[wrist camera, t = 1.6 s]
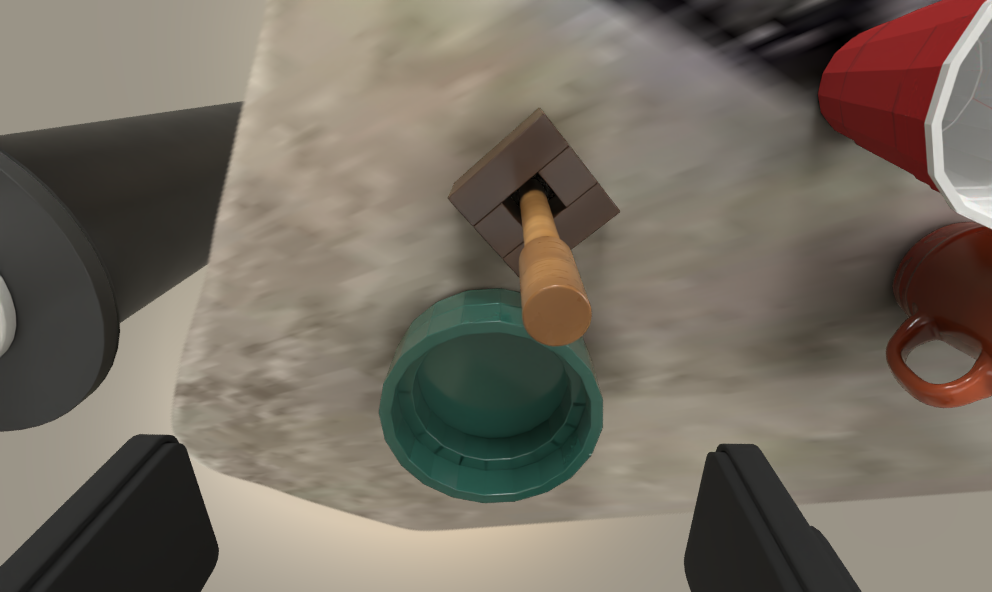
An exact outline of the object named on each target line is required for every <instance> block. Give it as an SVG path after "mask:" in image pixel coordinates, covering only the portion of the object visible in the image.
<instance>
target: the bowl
mask: <svg viewBox="0 0 992 592" xmlns="http://www.w3.org/2000/svg"><path fill="white" fill-rule="evenodd" d="M379 416H380V420H381V425H382V430H383V434H384V439H385V441H386V443H387V444H388V446H389V447H390V449H391V451H392V452H393V454H394V455H395V457H396V458H397V460H398V461H399V463H400V464H401V466H403V467H404V468H405V469H406V470H407V471H409V472H410V473H411V474H412V475H413V476H415V477H416V478H417V479H418V480H419V481H421V482H422V483H423V484H424V485H427V486H429V487H431V488H433V489H435V490H437V491H440V492H442V493H444V494H446V495H448V496H451V497H453V498H459V499H464V500H469V501H475V502H480V503H496V502H515V501H519V500H522V499H526V498H529V497H532V496H536V495H539V494H543V493H545V492H548V491H550V490H552V489H553V488H555V487H556V486H558V485H560V484H561V483H563V482H565V481H566V480H568V479H570V478H571V477H572V476H573V475H574V474H575V473H576V472H577V471H578V470H579V469H580V467H581V466H582V465H583V464H584V463H585V462H586V461H587V460H588V458H589V457H590V456H591V454H592V453H593V451H594V448H595V446H596V443H597V441H598V438H599V436H600V433H601V431H602V428H603V398H602V394H601V391H600V387H599V384H598V381H597V377H596V374H595V370H594V367H593V363H592V360H591V357H590V355H589V352H588V350H587V347H586V345H585V342H584V339H583V337H582V336H581V337H580V338H579V339H578V340H576V341H574V342H573V343H570V344H568V345H564V346H548V345H544V344H541V343H539V342H537V341H536V340H534V339H533V338H532V337H531V336H530V335H529V334H528V333H527V331H526V329H525V327H524V325H523V320H522V306H521V293H520V292H515V291H511V290H506V289H502V288H501V289H500V288H496V289H481V290H468V291H465V292H462V293H459V294H457V295H454V296H452V297H449V298H446V299H444V300H441V301H438V302H437V303H435V304H434V305H432V306H431V307H430V308H429V309H427V310H426V311H425V312H424V313H422V314H421V315H420V316H419V317H418V318H416V319H415V320H414V321H413V322H412V323H411V325H410V327H409V328H408V330H407V332H406V333H405V335H404V336H403V338H402V340H401V341H400V343H399V345H398V347H397V350H396V352H395V355H394V358H393V360H392V363H391V365H390V368H389V371H388V373H387V376H386V379H385V381H384V384H383V389H382V395H381V401H380V407H379Z"/></svg>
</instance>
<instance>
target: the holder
mask: <svg viewBox="0 0 992 592" xmlns="http://www.w3.org/2000/svg"><path fill="white" fill-rule="evenodd" d="M537 172H538V173H539V175H540V176H541V177H542V178H543V179H544V181H545V182H546V183H547V184H548V186H549V187H550V188H551V189H552V190H553V192H554V193H555V194H556V195H555V196H554V197H553V198H552V199H550V200H549V201H548V203H549V206H550V209H551V213H552V216H553V219H554V222H555V226H556V229H557V232H558V235H559V238H560V240H562V241H563V242H565V243H566V244H567V245H568V247H569V248H570V250H571V249H573V248H574V247H575V246H577V245H578V244H579V243H580V242H582V241H583V240H584V239H586V238H587V237H588V236H590V235H591V234H592V233H593V232H595V231H596V230H597V229H599V228H600V227H601V226H603V225H604V224H605V223H607V222H608V221H609V220H610V219H612V218H613V217H614V216H616V215H617V214H618V213H620V210H619V209H618V208H617V206H616V205H615V204H614V202H613V201H612V200H611V199H610V197H609V196H608V195H607V193H606V192H605V191H604V189H603V188H602V187H601V186H600V184H599V183H598V182H597V180H596V179H595V178H594V177H593V175H592V174H591V173H590V171H589V170H588V169H587V168H586V166H585V165H584V164H583V162H582V161H581V160H580V159H579V157H578V156H577V155H576V153H575V152H574V151H573V149H572V148H571V147H570V146H569V144H568V143H567V142H566V140H565V139H564V138H563V137H562V135H561V134H560V133H559V131H558V130H557V129H556V128H555V126H554V125H553V124H552V122H551V121H550V120H549V118H548V117H547V116H546V115H545V113H544V112H543V111H542V110H541V108H538V109H537V110H536V111H535V112H534V113H533V114H531V115H530V116H529V117H528V118H527V119H526V120H525V121H524V122H522V123H521V124H520V125H519V126H518V127H517V128H516V129H515V130H513V131H512V132H511V133H510V134H509V135H508V136H507V137H505V138H504V139H503V140H502V141H501V142H500V143H499V144H498V145H496V146H495V147H494V148H493V149H492V150H491V151H490V152H489V153H487V154H486V155H485V156H484V157H483V158H482V159H481V160H480V161H478V162H477V163H476V164H475V165H474V166H473V167H472V168H471V169H469V170H468V171H467V172H466V173H465V174H464V175H463V176H461V177H460V178H459V179H458V180H457V181H456V182H455V183H454V185H453V187H452V189H451V192H450V194H449V196H448V199H449V201H450V202H451V203H452V204H453V205H454V206H455V207H456V208H457V209H458V211H459V212H460V213H461V214H462V215H463V216H464V217H465V218H466V219H467V220H468V222H469V223H470V224H471V225H472V226H474V228H475V229H476V230H477V231H478V233H479V234H480V235H481V236H482V237H483V238H484V239H485V240H486V241H487V243H488V244H489V245H490V246H491V247H492V248H493V249H494V250H495V251H496V252H497V254H498V255H499V256H500V257H501V258H503V260H504V261H505V262H506V264H507V265H508V266H509V267H510V268H511V269H512V270H513V271H514V272H515V273H516V275H517V276H518V277H519V278H520V276H519V256H520V253H521V251H522V249H523V248H524V238H523V229H522V219H521V209H520V207H519V206H518V205H517V204H516V203H515V202H514V200H513V199H512V198H511V197H510V195H511V194H512V193H514V192H515V191H516V190H517V189H518V188H520V187H521V186H522V185H523V184H524V183H526V182H527V181H528V180H529V179H530V178H532V177H533V176H534V175H535V174H536V173H537Z"/></svg>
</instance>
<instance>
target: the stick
mask: <svg viewBox="0 0 992 592" xmlns="http://www.w3.org/2000/svg"><path fill="white" fill-rule="evenodd" d="M519 200H520V209H521V219H522V229H523V238H524V248H523V249H522V251H521V253H520V256H519V276H520V291H521V306H522V320H523V325H524V327H525V329H526V331H527V333H528V334H529V335H530V336H531V337H532V338H533V339H534V340H536V341H537V342H539V343H541V344H544V345H548V346H564V345H568V344H570V343H573V342H574V341H576V340H578V339H579V338H580V337H581V336H582V335H583V334H584V333H585V332H586V330H587V329H588V327H589V325H590V322H591V317H592V310H591V306H590V303H589V300H588V297H587V295H586V292H585V289H584V286H583V283H582V280H581V277H580V275H579V272H578V269H577V266H576V263H575V260H574V258H573V255H572V252H571V250H570V248H569V247H568V245H567V244H566V243H565V242H563V241H562V240H560V238H559V235H558V232H557V229H556V226H555V222H554V219H553V216H552V213H551V209H550V206H549V203H548V200H547V197H546V193H545V190H544V187H543V185H542V184H541V183H540V182H539V181H538V180H535V179H529V180H528V181H527V182H526V183H524V184H523V185H522V186H521V187H520V188H519Z"/></svg>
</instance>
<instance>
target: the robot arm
mask: <svg viewBox="0 0 992 592" xmlns="http://www.w3.org/2000/svg"><path fill="white" fill-rule="evenodd" d="M15 330H16V311H15V308H14V304H13V301H12V297H11V294H10V292H9V290H8V288H7V286H6V284H5V282H4V280H3V278H2V277H1V275H0V357H1V356H2V355H3V354H4V353H5V352H6V351H7V350H8V349H9V347H10V345H11V343H12V341H13V339H14V335H15ZM218 552H219V548H218V544H217V541H216V537H215V535H214V531H213V528H212V525H211V522H210V519H209V516H208V513H207V510H206V507H205V504H204V501H203V498H202V495H201V492H200V489H199V486H198V483H197V480H196V477H195V474H194V471H193V467H192V465H191V461H190V458H189V455H188V452H187V449H186V447H185V446H184V445H183V444H180V443H179V442H178V440H177V438H175V437H174V436H173V435H147V434H146V435H145V434H139V435H136V436H133V437H132V438H131V439H129V440H128V441H127V442H126V443H125V444H124V445H123V446H122V447H121V448H120V449H119V450H118V451H117V452H116V453H115V454H114V455H113V456H112V457H111V458H110V459H109V460H108V461H107V462H106V463H105V464H104V465H103V466H102V467H101V468H100V469H99V470H98V471H97V472H96V473H95V474H94V475H93V476H92V477H91V478H90V479H89V480H88V481H87V482H86V483H85V484H84V485H83V486H82V487H81V488H79V490H77V492H76V493H75V494H74V495H72V496H71V497H70V498H69V500H67V501H66V502H65V503H64V504H63V505H62V506H61V507H60V508H59V509H58V510H57V511H56V512H55V513H54V514H53V515H52V516H51V517H50V518H49V519H48V520H47V521H46V522H45V523H44V524H43V525H42V526H41V527H40V528H39V529H38V530H37V531H36V532H35V533H34V534H33V535H32V536H31V537H30V538H29V539H28V540H27V541H26V542H25V543H24V544H23V545H22V546H21V547H20V548H19V549H18V550H17V551H16V552H15V553H14V554H13V555H12V556H11V557H10V558H9V559H8V560H7V561H6V562H5V563H4V564H3V565H1V566H0V592H201V590H202V589H203V587H204V585H205V583H206V582H207V580H208V578H209V577H210V575H211V573H212V571H213V569H214V568H215V566H216V563H217V560H218V554H219V553H218ZM684 566H685V574H686V578H687V581H688V584H689V587H690V590H691V592H861V590H860V589H859V587H858V586H857V584H856V583H855V581H854V580H853V578H852V577H851V575H850V573H849V572H848V570H847V569H846V567H845V566H844V564H843V563H842V561H841V560H840V559H839V557H838V556H837V554H836V552H835V551H834V550H833V548H832V546H831V545H830V543H829V542H828V541H827V539H826V538H825V537H824V536H823V534H822V533H821V532H820V531H819V530H817V529H816V528H814V527H813V526H809V524H808V522H807V521H806V519H805V518H804V517H803V515H802V513H801V511H800V510H799V508H798V507H797V505H796V504H795V502H794V501H793V499H792V498H791V496H790V495H789V493H788V491H787V490H786V488H785V487H784V485H783V484H782V482H781V481H780V479H779V478H778V476H777V474H776V473H775V471H774V470H773V468H772V467H771V465H770V464H769V462H768V461H767V459H766V457H765V456H764V454H763V453H762V451H761V450H760V449H759V448H758V446H756V445H754V444H720V445H719V446H718V447H717V450H716V452H709V453H708V454H707V457H706V461H705V466H704V470H703V475H702V479H701V484H700V488H699V493H698V497H697V502H696V506H695V511H694V515H693V520H692V524H691V529H690V533H689V538H688V542H687V547H686V551H685V557H684Z"/></svg>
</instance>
